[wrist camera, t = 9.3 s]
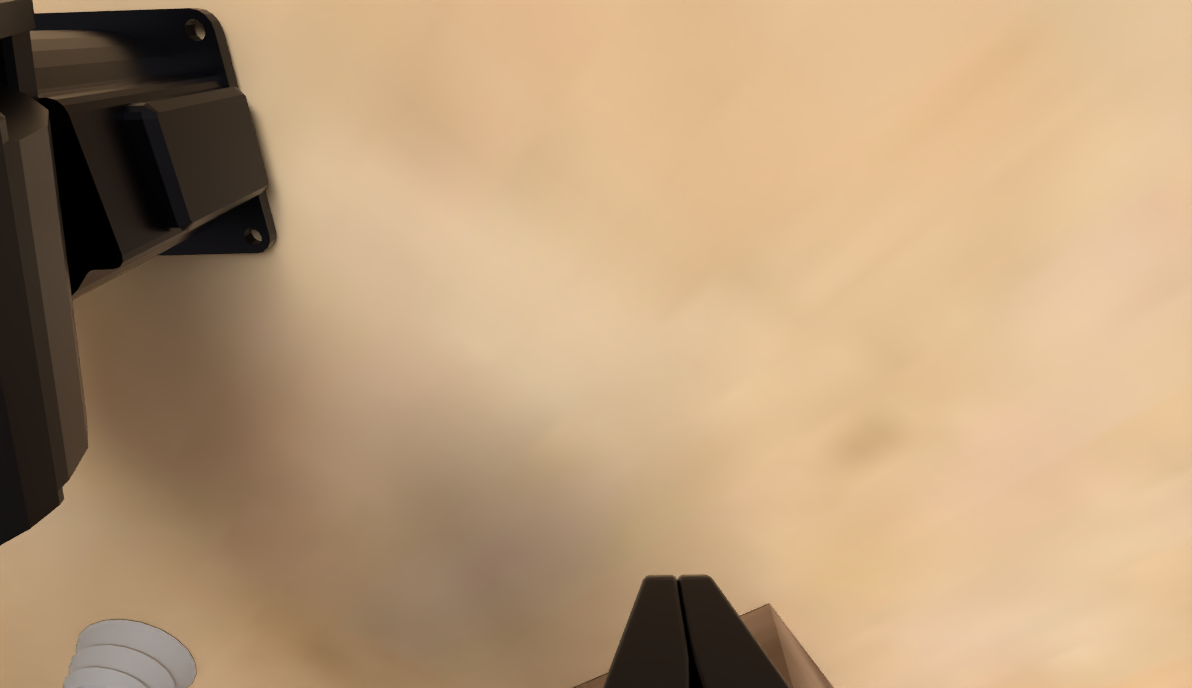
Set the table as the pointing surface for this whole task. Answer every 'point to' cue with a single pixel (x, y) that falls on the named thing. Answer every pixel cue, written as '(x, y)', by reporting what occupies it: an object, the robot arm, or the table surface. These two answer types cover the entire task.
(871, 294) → the table surface
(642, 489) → the table surface
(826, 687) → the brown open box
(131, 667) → the chalice
